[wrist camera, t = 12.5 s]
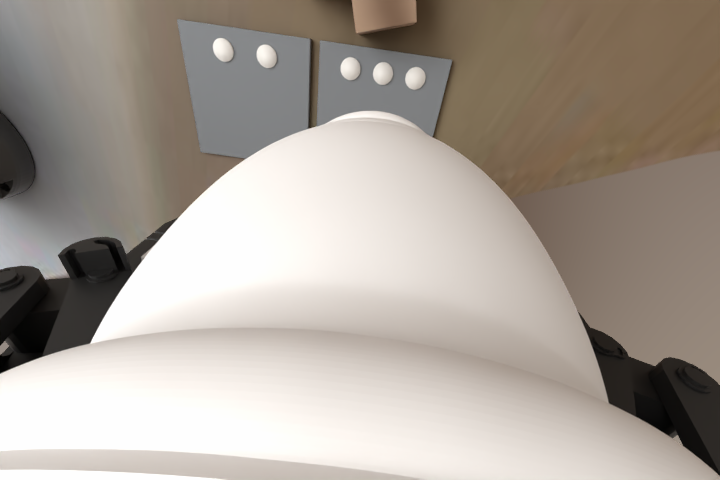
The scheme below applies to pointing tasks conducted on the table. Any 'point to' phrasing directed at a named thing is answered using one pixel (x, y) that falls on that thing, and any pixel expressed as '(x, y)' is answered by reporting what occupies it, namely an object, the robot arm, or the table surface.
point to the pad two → (245, 86)
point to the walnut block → (383, 15)
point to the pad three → (380, 83)
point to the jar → (336, 337)
